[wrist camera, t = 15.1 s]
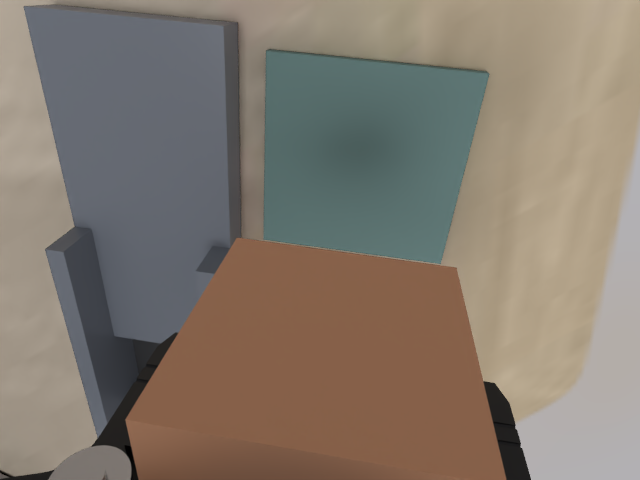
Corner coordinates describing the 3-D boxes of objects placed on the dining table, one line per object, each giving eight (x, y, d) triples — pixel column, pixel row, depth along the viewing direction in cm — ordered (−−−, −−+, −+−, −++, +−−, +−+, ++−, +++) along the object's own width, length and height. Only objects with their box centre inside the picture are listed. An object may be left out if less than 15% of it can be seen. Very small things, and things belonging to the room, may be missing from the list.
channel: (244, 420, 34) (225, 475, 31) (133, 401, 35) (102, 453, 31) (237, 22, 20) (201, 30, 16) (53, 4, 21) (-23, 8, 17)
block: (414, 416, 12) (428, 646, 8) (240, 387, 13) (163, 592, 8) (456, 267, 10) (508, 486, 6) (236, 237, 10) (125, 419, 6)
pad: (439, 258, 25) (440, 263, 24) (266, 234, 26) (263, 239, 25) (486, 71, 20) (489, 73, 19) (269, 49, 21) (266, 50, 20)
